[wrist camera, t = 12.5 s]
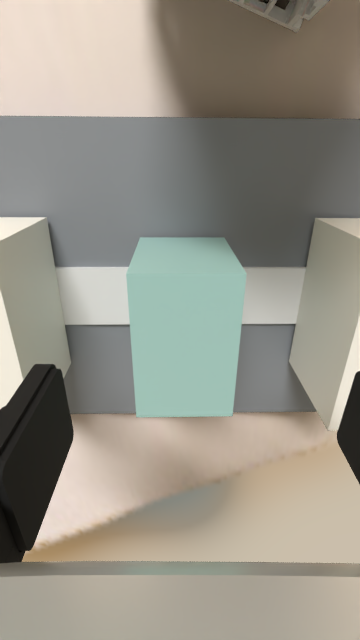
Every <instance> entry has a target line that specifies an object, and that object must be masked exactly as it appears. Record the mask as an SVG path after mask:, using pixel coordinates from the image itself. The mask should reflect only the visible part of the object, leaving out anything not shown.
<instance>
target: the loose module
mask: <svg viewBox="0 0 360 640" xmlns="http://www.w3.org/2000/svg"><path fill="white" fill-rule="evenodd" d="M246 274H247V273H246V272H245V270H244V269H243V267H242V265H241V264H240V262H239V260H238V259H237V257H236V256H235V254H234V252H233V251H232V249H231V248H230V246H229V244H228V243H227V241H226V239H225V238H224V237H140V239H139V242H138V244H137V247H136V250H135V252H134V255H133V257H132V260H131V263H130V265H129V268H128V270H127V273H126V279H127V293H128V307H129V321H130V335H131V349H132V363H133V377H134V391H135V405H136V417H207V416H233V406H234V396H235V386H236V376H237V365H238V355H239V345H240V335H241V325H242V315H243V305H244V295H245V284H246Z"/></svg>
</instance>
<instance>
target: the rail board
mask: <svg viewBox="0 0 360 640" xmlns="http://www.w3.org/2000/svg"><path fill="white" fill-rule="evenodd" d="M140 237H224V238H225V239H226V241H227V243H228V244H229V246H230V248H231V249H232V251H233V252H234V254H235V256H236V257H237V259H238V260H239V262H240V264H241V265H242V267H243V269H244V270H245V272H246V273H247V274H246V284H245V295H244V305H243V315H242V325H241V335H240V345H239V355H238V365H237V376H236V386H235V396H234V406H233V412H315V411H317V412H318V414H319V416H320V418H321V420H322V421H323V423H324V425H325V427H326V428H327V430H328V431H338V429H339V425H340V422H341V419H342V416H343V412H344V409H345V406H346V403H347V399H348V396H349V393H350V390H351V386H352V383H353V380H354V377H355V374H356V372H358V371H360V119H300V118H188V117H76V116H0V409H1V408H2V407H4V406H6V405H7V403H8V402H9V401H10V399H11V398H12V396H13V395H14V393H15V392H16V390H17V389H18V387H19V386H20V384H21V383H22V381H23V380H24V379H25V377H26V376H27V374H28V373H29V371H30V370H31V368H32V367H33V366H34V365H35V364H54V365H55V366H56V368H57V369H61V371H62V374H63V380H64V385H65V390H66V395H67V400H68V405H69V411H70V414H108V413H136V405H135V391H134V377H133V363H132V349H131V335H130V321H129V307H128V293H127V279H126V273H127V270H128V268H129V265H130V263H131V260H132V257H133V255H134V252H135V250H136V247H137V244H138V242H139V239H140Z"/></svg>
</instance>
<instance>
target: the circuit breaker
mask: <svg viewBox="0 0 360 640" xmlns="http://www.w3.org/2000/svg"><path fill="white" fill-rule="evenodd" d="M228 1H230V2H232V3H235V4H237V5H239V6H241V7H243V8H245V9H247V10H249V11H252V12H254V13H256V14H258V15H260V16H262V17H264V18H267V19H269V20H271V21H273V22H275V23H277V24H279V25H281V26H284V27H286V28H288V29H290V30H292V31H294V32H296V33H297V32H298V31H299V30H300V27H301V25H302V22H303V18H304V19H306V20H308V21H309V20H310V19H311V18H312V17H313V16H314V15H315V14H316V13H317V12H318V11H319V10H320V9H321V8H322V7H323V6H324V5H326V4H327V3H328V2H329V1H330V0H289V1H288V4H287V6H286V8H285V10H284V9H281V8H279V7H277V6H275V3H276V1H277V0H270V1H269V2H268V3H267V4H266V3H264V2H261V1H259V0H228ZM301 17H302V18H301Z"/></svg>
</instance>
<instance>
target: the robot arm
mask: <svg viewBox="0 0 360 640" xmlns="http://www.w3.org/2000/svg"><path fill="white" fill-rule="evenodd" d="M337 440H338V444H339V446H340V448H341V450H342V452H343V453H344V455H345V457H346V459H347V461H348V463H349V465H350V467H351V469H352V471H353V472H354V474H355V476H356V478H357V480H358V482H359V484H360V371H358V372H356V374H355V377H354V380H353V383H352V386H351V390H350V393H349V396H348V399H347V403H346V406H345V409H344V412H343V416H342V419H341V422H340V425H339V429H338V432H337ZM72 441H73V426H72V421H71V416H70V411H69V405H68V400H67V395H66V390H65V385H64V380H63V374H62V371H61V369H57V368H56V366H55V365H54V364H35V365H34V366H33V367H32V368H31V370H30V371H29V373H28V374H27V376H26V377H25V379H24V380H23V381H22V383H21V384H20V386H19V387H18V389H17V390H16V392H15V393H14V395H13V396H12V398H11V399H10V401H9V402H8V403H7V405H6V406H4V407H2V408H1V409H0V640H360V564H346V563H274V562H273V563H271V562H155V561H153V562H152V561H151V562H150V561H147V562H146V561H141V562H139V561H65V562H64V561H63V562H21V561H22V559H23V556H24V553H25V551H30V550H31V549H32V547H33V545H34V543H35V540H36V538H37V535H38V532H39V530H40V527H41V524H42V522H43V519H44V516H45V513H46V511H47V508H48V505H49V503H50V500H51V497H52V495H53V492H54V489H55V487H56V484H57V481H58V479H59V476H60V473H61V471H62V468H63V465H64V463H65V460H66V457H67V455H68V452H69V449H70V447H71V444H72Z"/></svg>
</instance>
